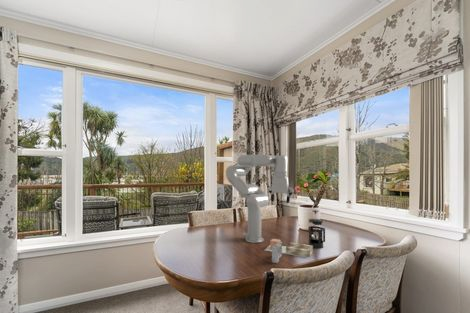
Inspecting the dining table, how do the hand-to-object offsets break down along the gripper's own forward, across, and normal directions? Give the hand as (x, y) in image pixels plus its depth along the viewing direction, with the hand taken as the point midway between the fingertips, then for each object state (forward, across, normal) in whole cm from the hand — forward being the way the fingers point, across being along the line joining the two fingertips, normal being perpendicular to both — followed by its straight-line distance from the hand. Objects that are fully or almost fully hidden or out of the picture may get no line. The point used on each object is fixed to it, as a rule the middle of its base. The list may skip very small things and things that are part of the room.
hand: (280, 201), depth 150 cm
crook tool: (+29, +6, -19) cm, 35 cm away
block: (+28, -1, -4) cm, 29 cm away
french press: (+29, +20, +14) cm, 38 cm away
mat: (+29, +7, -3) cm, 30 cm away
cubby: (+28, +14, -3) cm, 31 cm away
